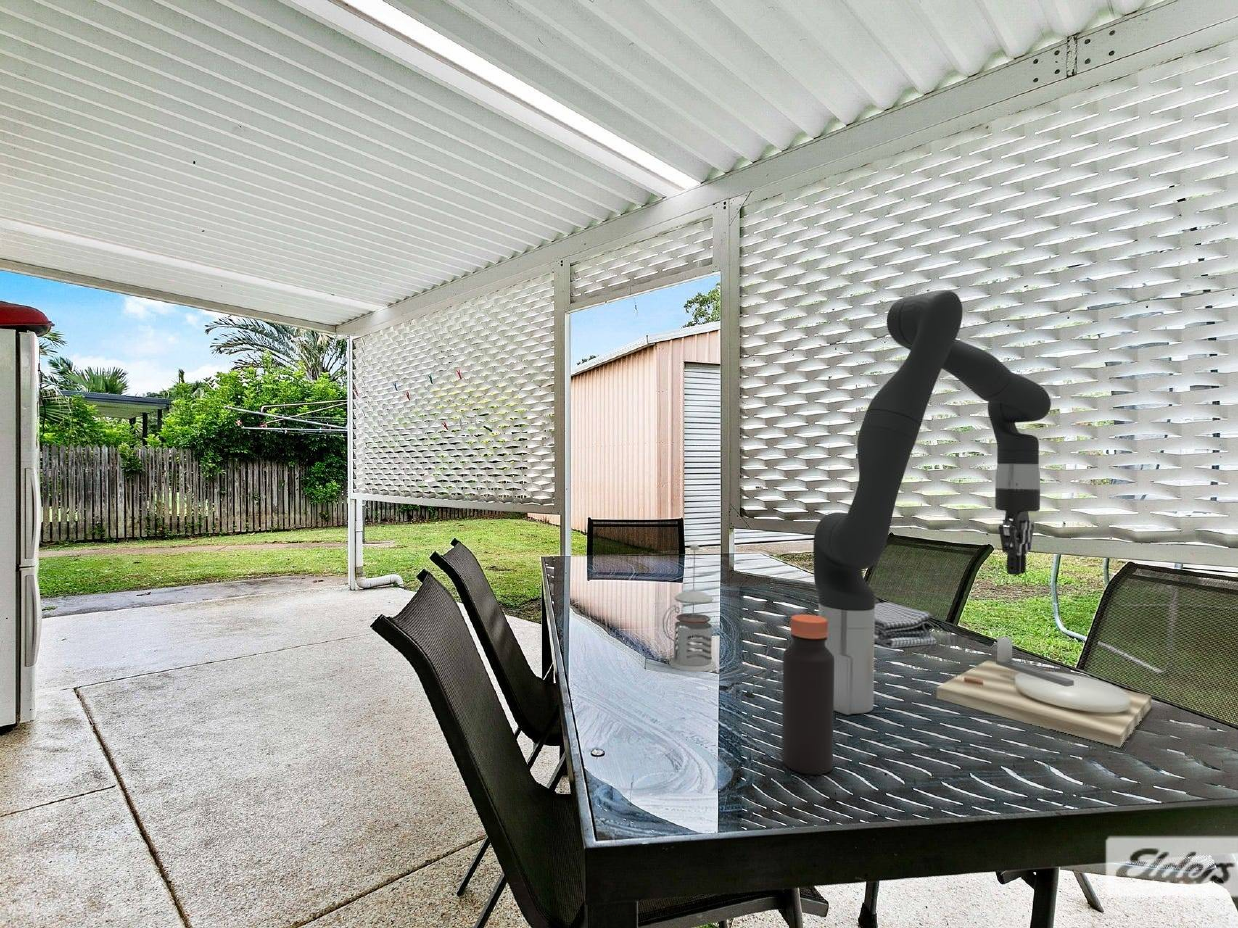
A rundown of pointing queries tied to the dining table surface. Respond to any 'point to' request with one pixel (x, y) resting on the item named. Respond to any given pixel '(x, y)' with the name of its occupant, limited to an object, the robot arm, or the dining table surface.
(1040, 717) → the cutting board
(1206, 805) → the dining table surface
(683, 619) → the french press
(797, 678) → the bottle
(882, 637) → the towel
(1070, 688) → the dial
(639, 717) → the dining table surface
